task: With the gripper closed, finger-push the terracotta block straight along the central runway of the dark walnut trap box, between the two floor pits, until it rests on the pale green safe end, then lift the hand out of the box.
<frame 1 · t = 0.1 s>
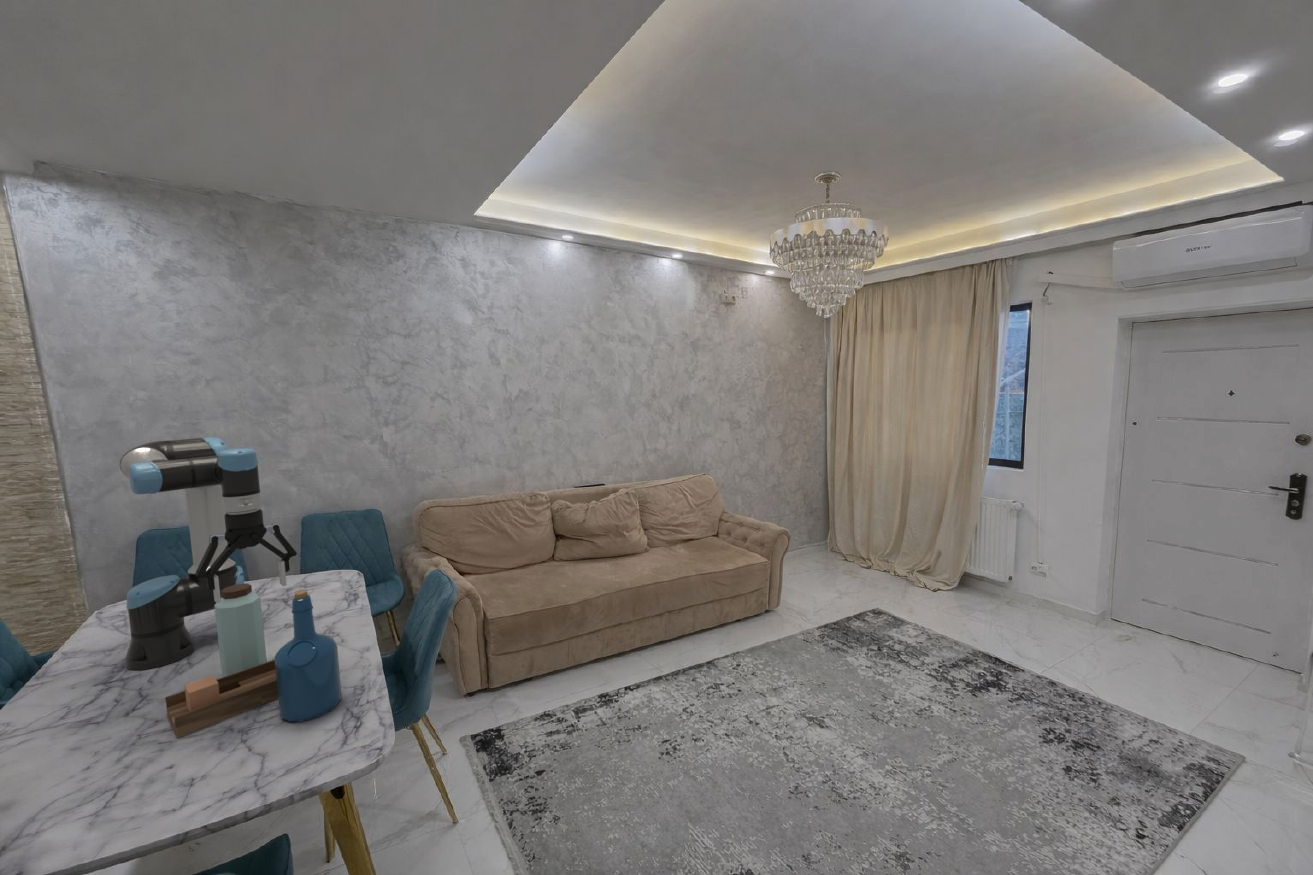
hand: (251, 592, 134), 28 cm above the table, fingers open, 13 cm apart
block: (203, 705, 130), point 2 cm above the table, touching trap box
trap box: (249, 697, 137), on the table
wine bottle: (311, 708, 132), on the table
water bottle: (245, 674, 148), on the table
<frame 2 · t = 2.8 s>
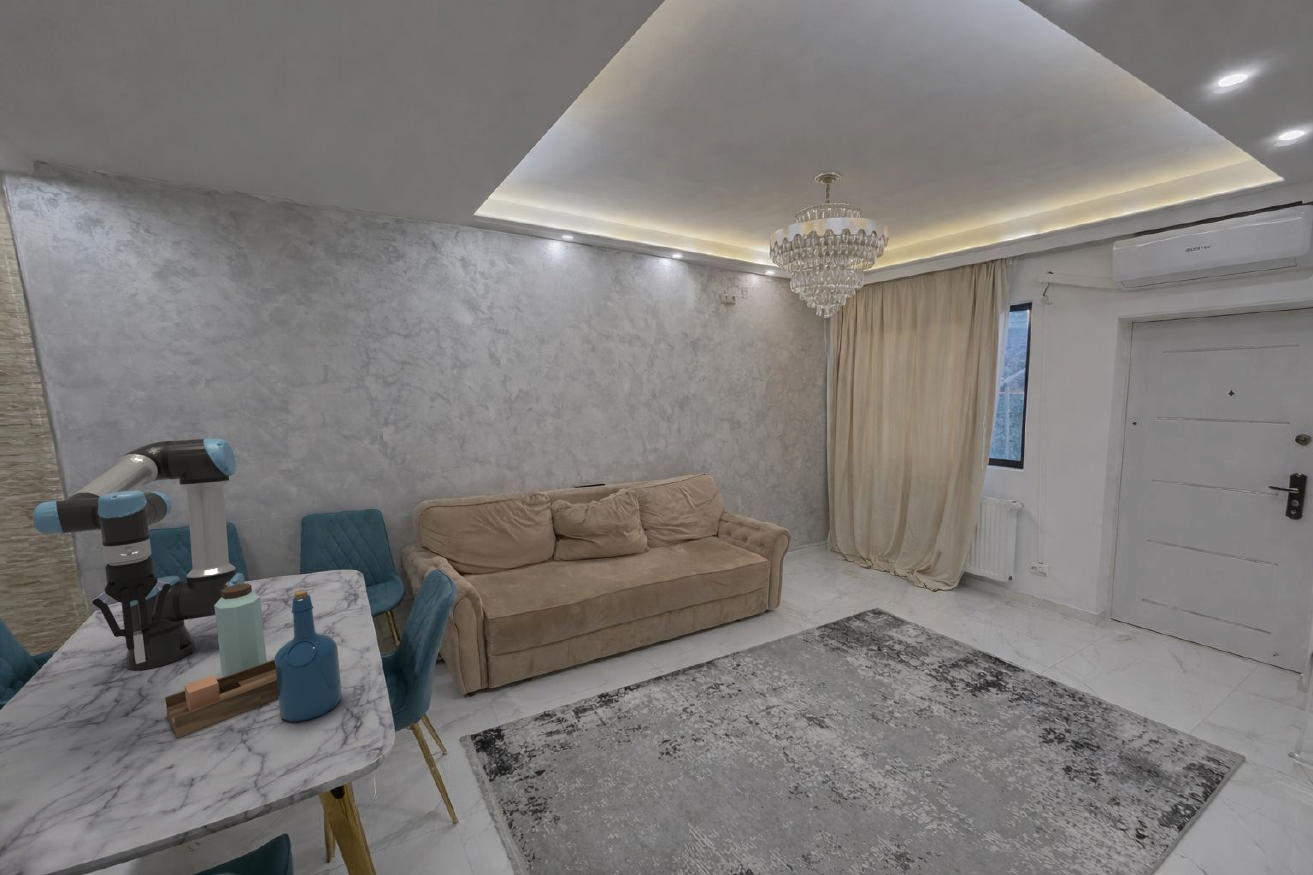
hand: (140, 660, 121), 18 cm above the table, fingers closed
nothing on the table moved.
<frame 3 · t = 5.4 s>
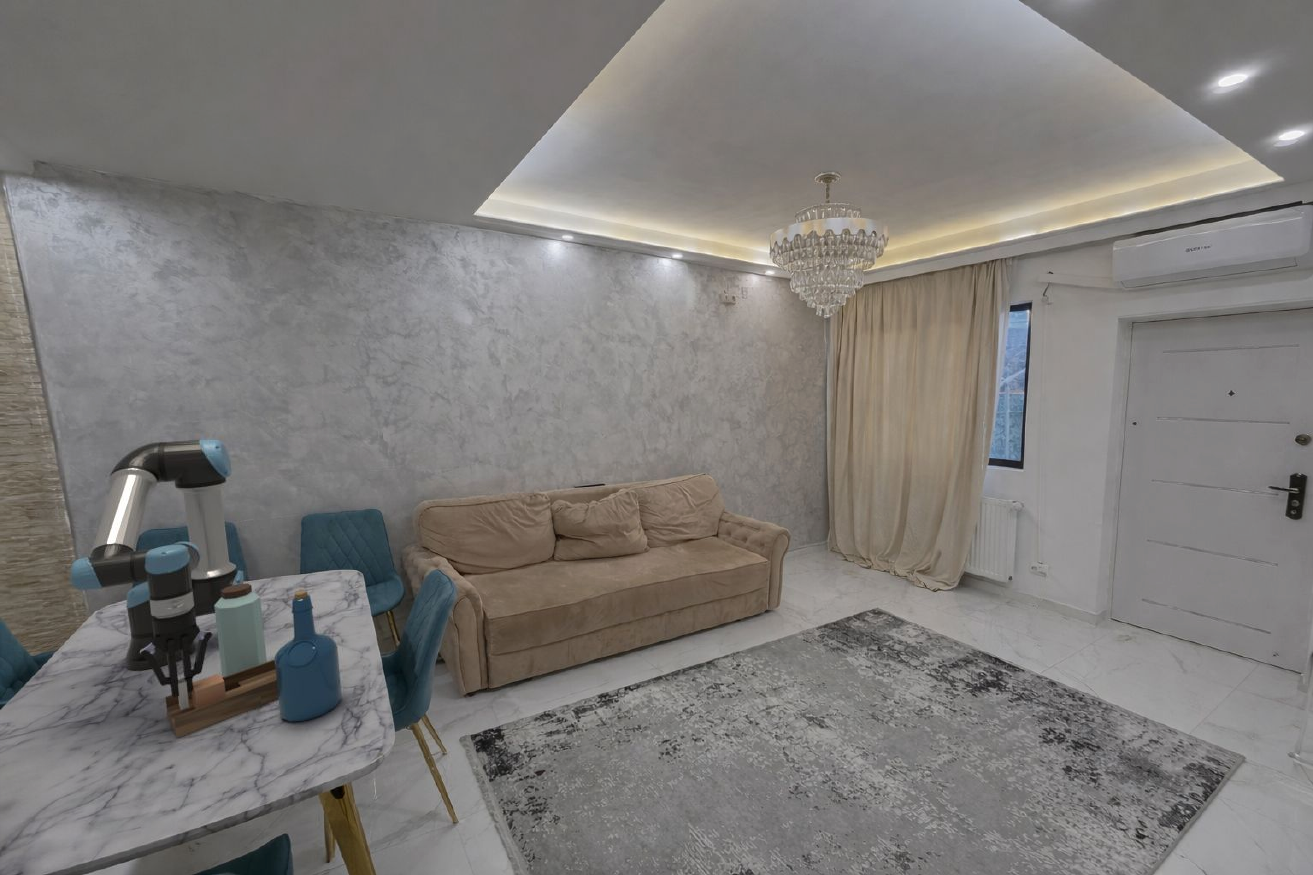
hand: (184, 706, 127), 4 cm above the table, fingers closed
block: (209, 703, 131), point 3 cm above the table, touching gripper
everything else where it was.
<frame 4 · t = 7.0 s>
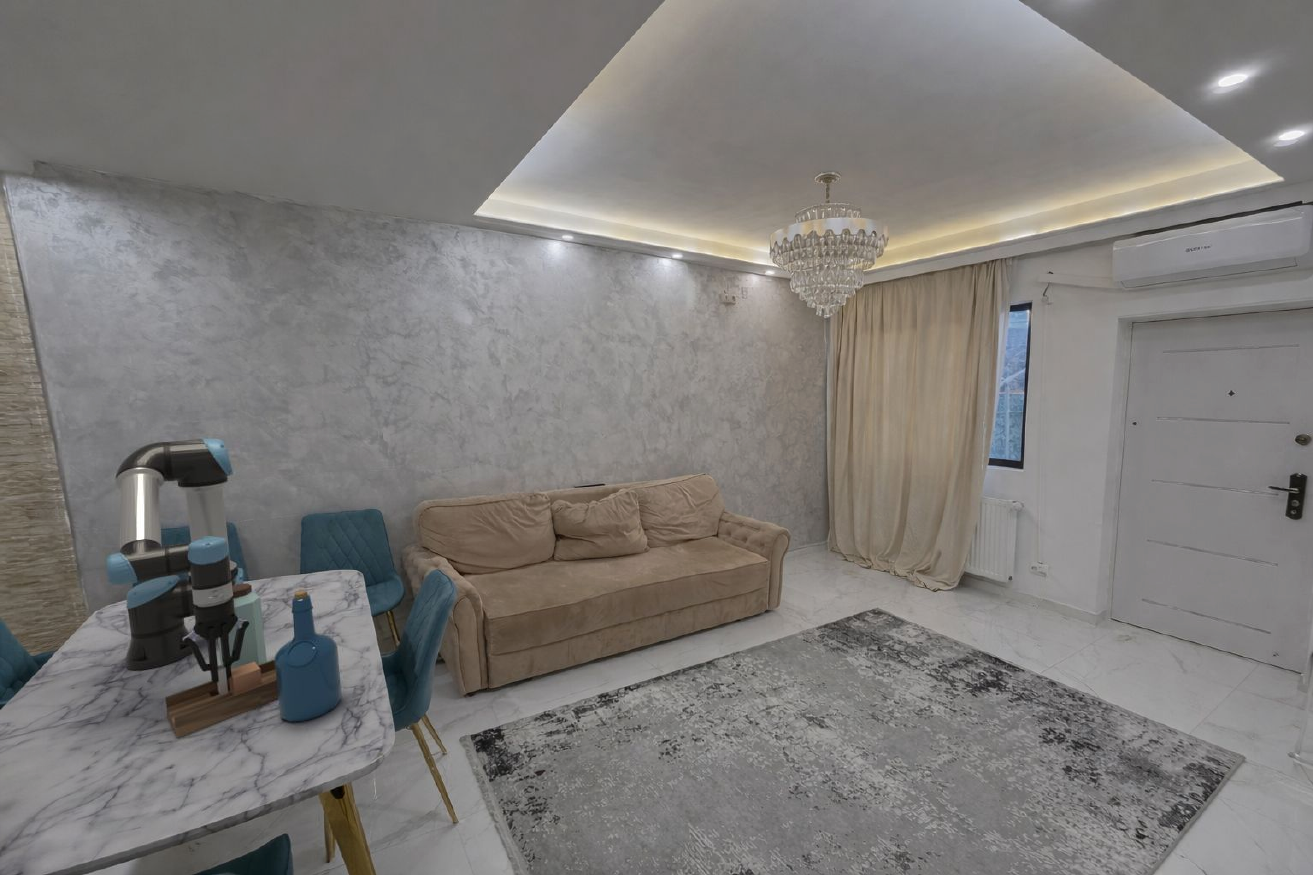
hand: (223, 691, 132), 4 cm above the table, fingers closed
block: (246, 689, 136), point 3 cm above the table, touching gripper, trap box
everything else where it was.
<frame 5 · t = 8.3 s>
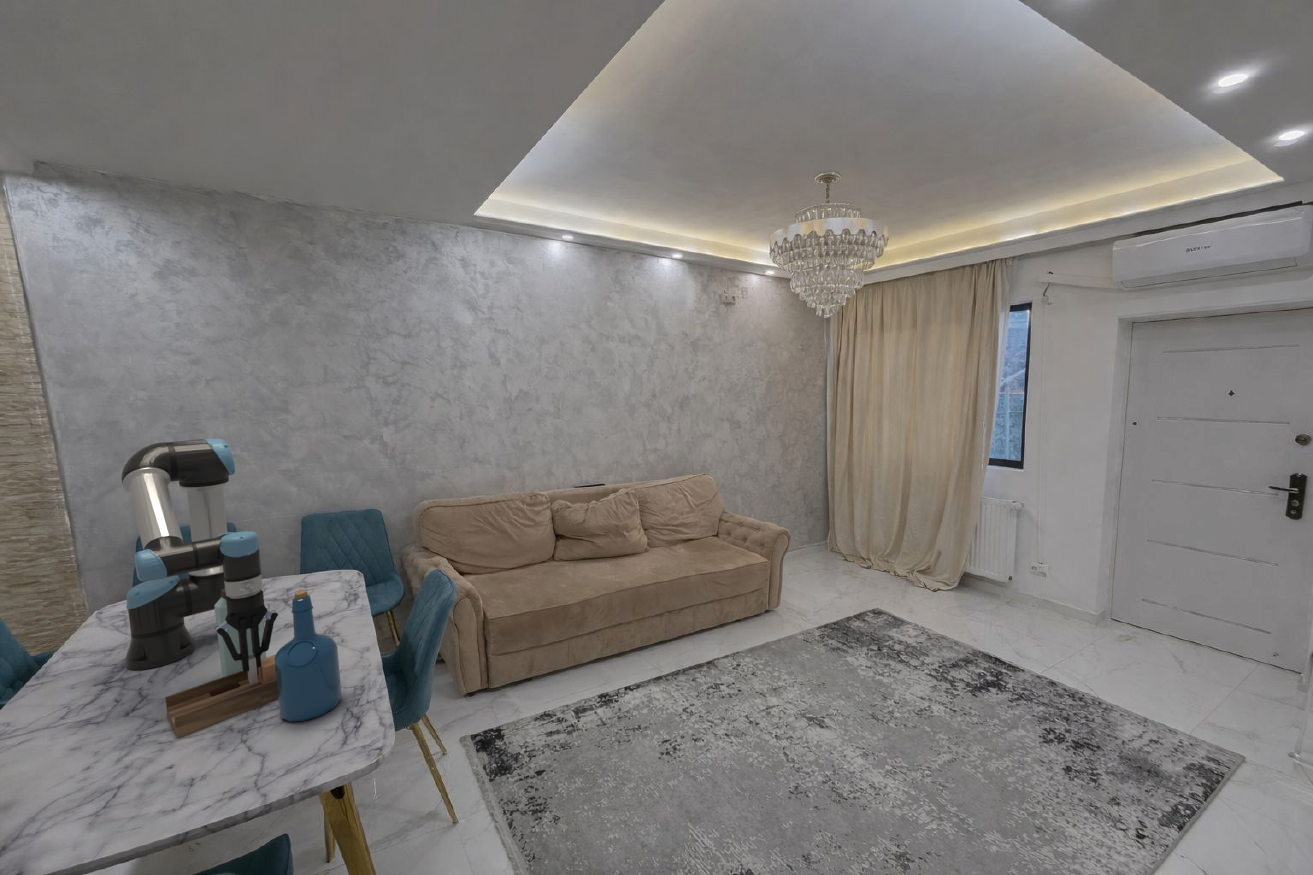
hand: (253, 680, 137), 4 cm above the table, fingers closed
block: (274, 679, 141), point 3 cm above the table, touching gripper
everything else where it was.
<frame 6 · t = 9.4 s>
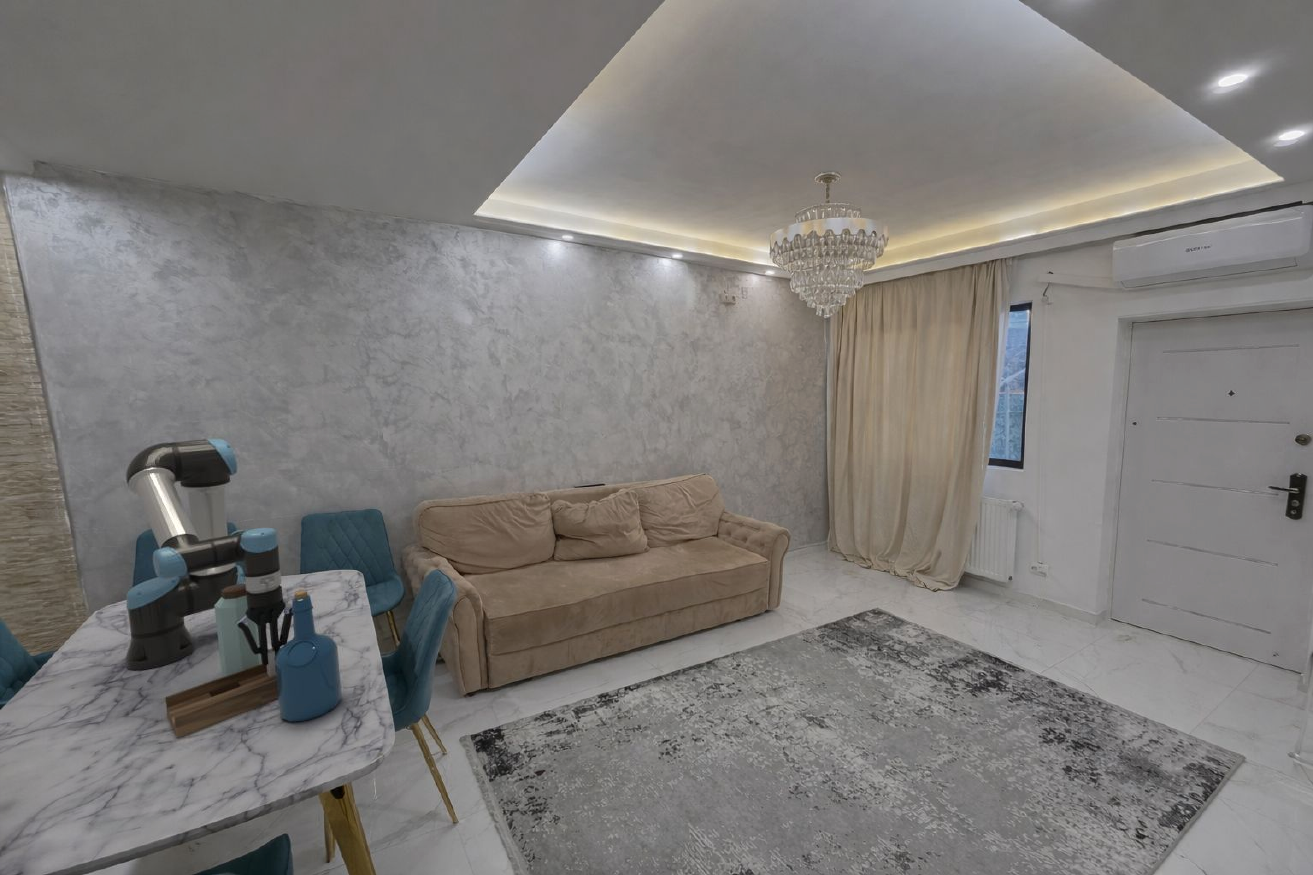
hand: (272, 674, 140), 4 cm above the table, fingers closed
block: (293, 672, 144), point 2 cm above the table, touching gripper, trap box
everything else where it was.
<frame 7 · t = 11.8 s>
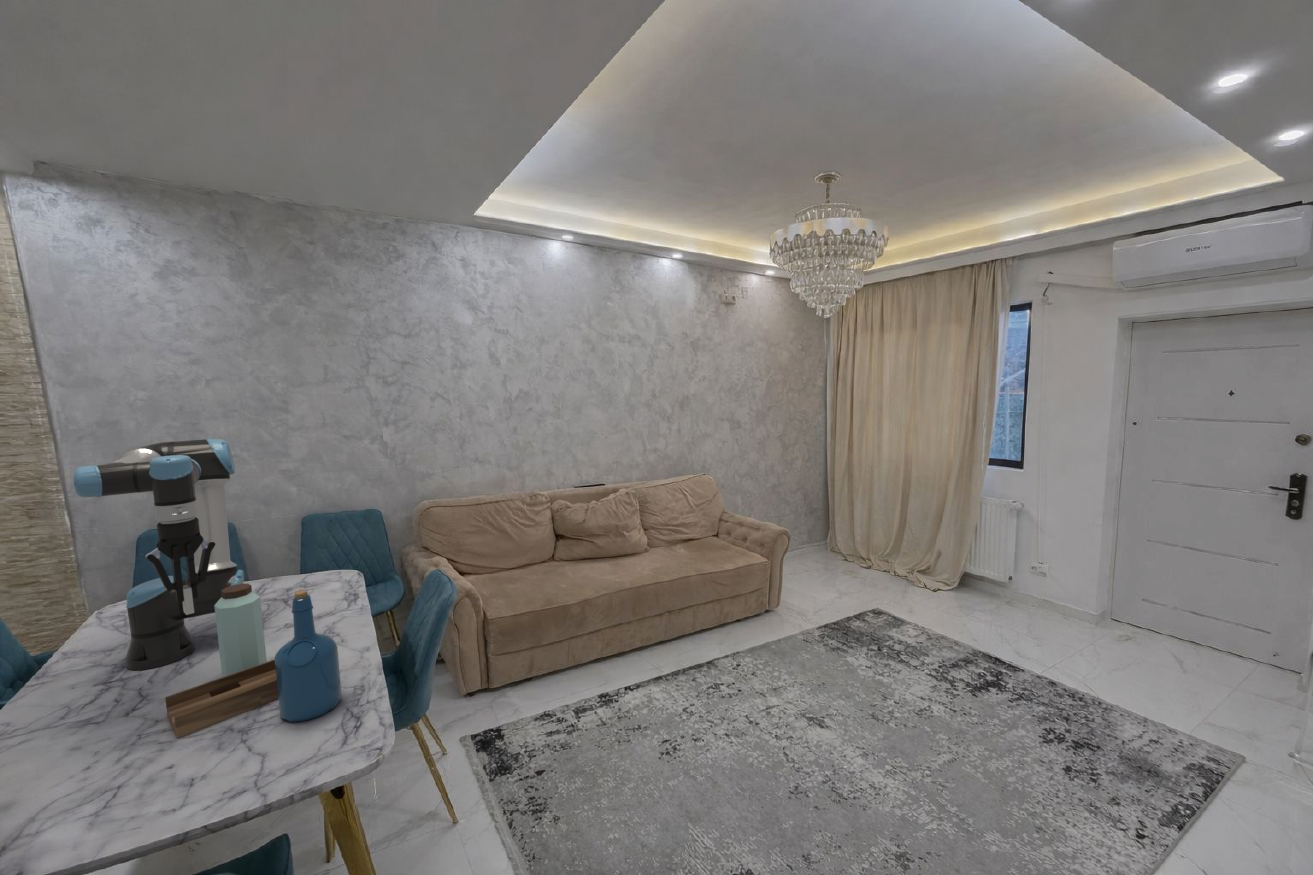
hand: (189, 612, 131), 25 cm above the table, fingers closed
block: (293, 672, 144), point 2 cm above the table, touching trap box
everything else where it was.
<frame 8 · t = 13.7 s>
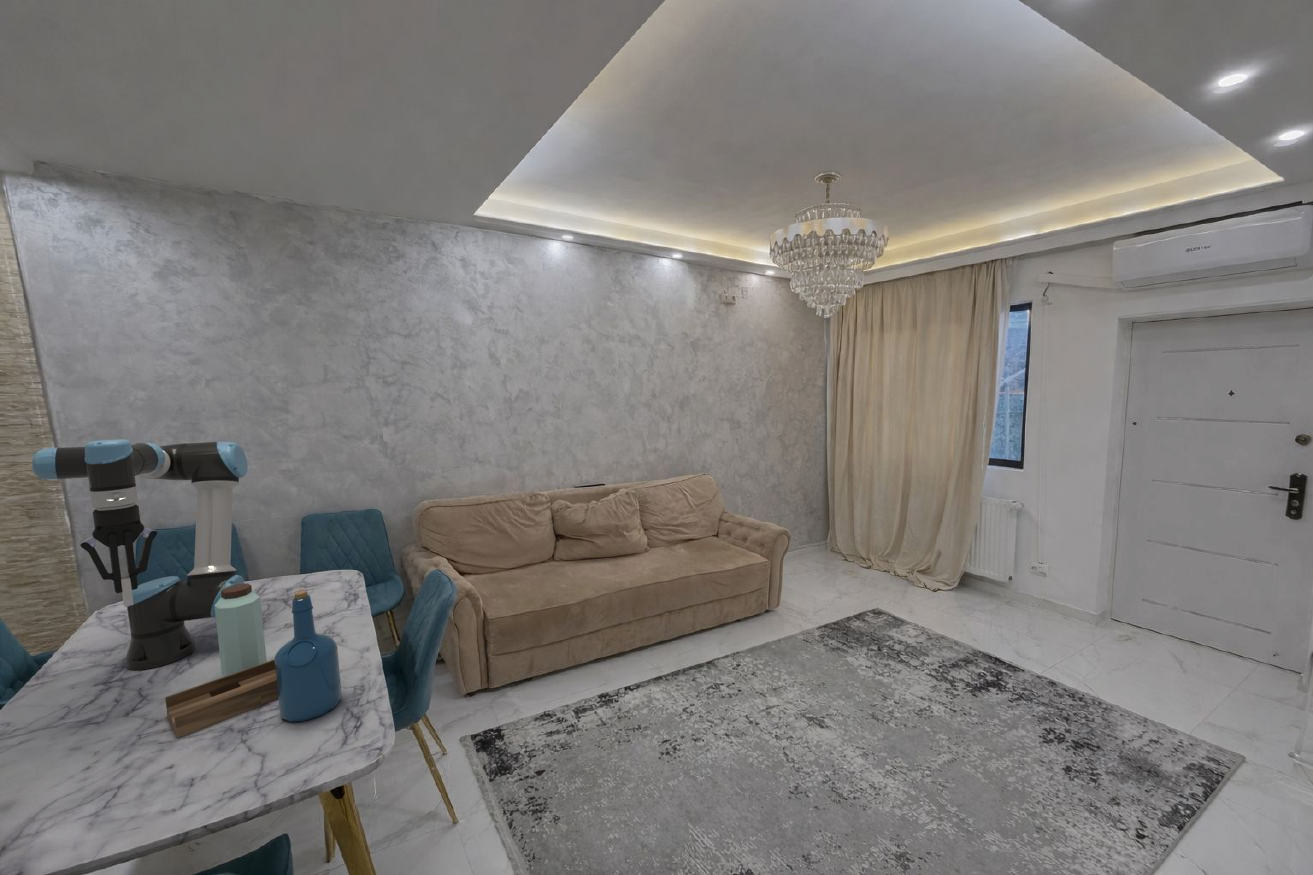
hand: (128, 604, 125), 29 cm above the table, fingers closed
nothing on the table moved.
at the end: block 0.6 cm from the target spot on the trap box, point 2.5 cm above the trap box's base; block tilted 0° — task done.
